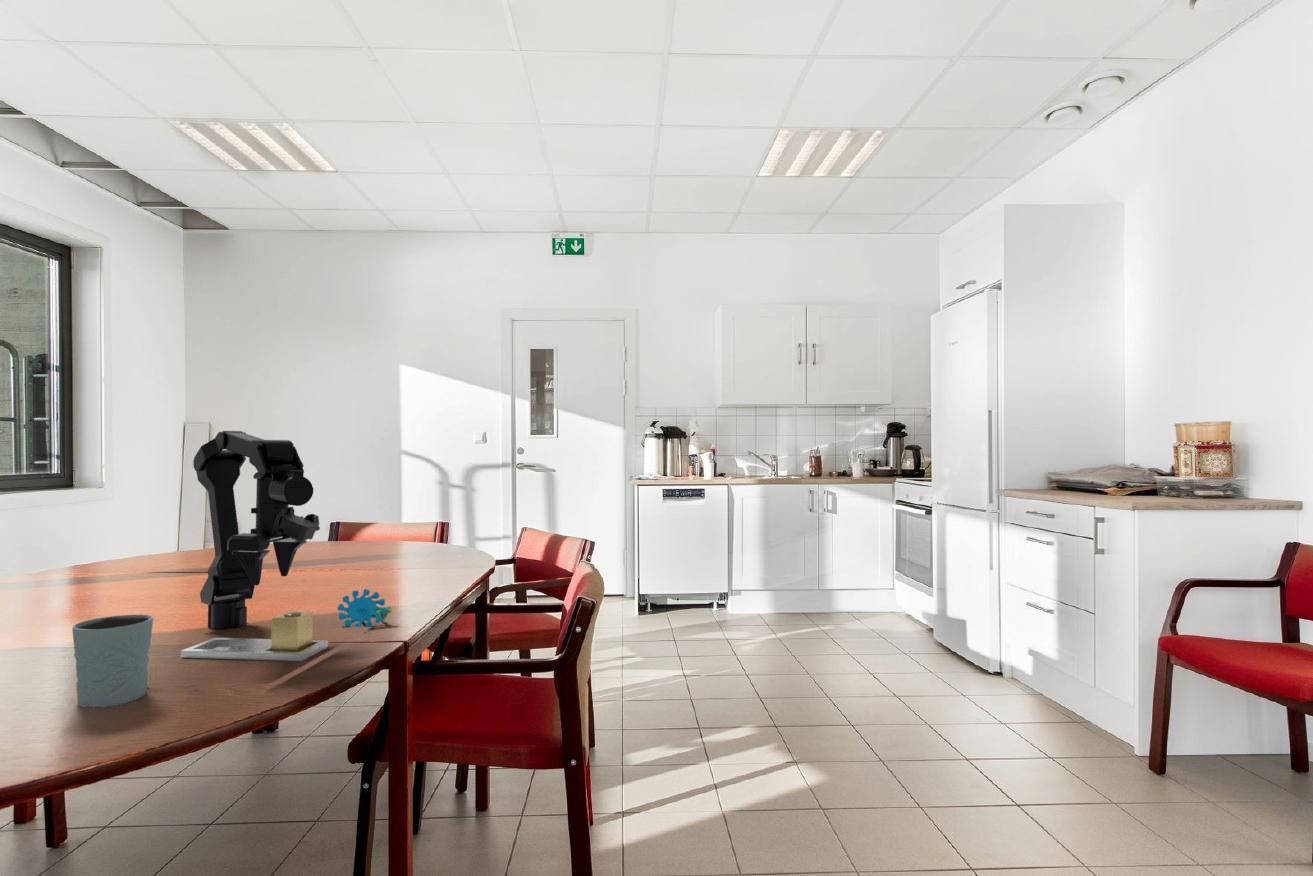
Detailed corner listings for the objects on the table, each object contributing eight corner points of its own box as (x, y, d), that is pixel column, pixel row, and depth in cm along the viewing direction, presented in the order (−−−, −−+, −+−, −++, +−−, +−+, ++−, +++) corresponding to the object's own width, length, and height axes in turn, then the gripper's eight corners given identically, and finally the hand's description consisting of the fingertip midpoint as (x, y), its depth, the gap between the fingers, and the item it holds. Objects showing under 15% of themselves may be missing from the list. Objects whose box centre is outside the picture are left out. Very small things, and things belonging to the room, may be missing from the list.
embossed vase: (86, 714, 104) (88, 632, 104) (59, 701, 110) (60, 623, 110) (163, 694, 113) (165, 619, 113) (134, 683, 118) (136, 610, 118)
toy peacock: (332, 624, 151) (343, 585, 158) (332, 639, 155) (343, 600, 162) (386, 629, 154) (395, 590, 161) (385, 643, 158) (394, 604, 165)
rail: (180, 661, 130) (180, 650, 130) (214, 647, 139) (214, 637, 139) (301, 665, 128) (302, 654, 128) (328, 651, 137) (328, 640, 137)
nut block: (271, 655, 131) (271, 616, 131) (286, 648, 136) (287, 610, 136) (297, 656, 131) (297, 617, 131) (312, 648, 136) (312, 611, 136)
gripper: (283, 507, 132) (281, 591, 132) (335, 499, 151) (333, 573, 150) (226, 506, 133) (224, 589, 133) (285, 498, 151) (283, 571, 151)
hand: (270, 580), depth 142 cm, fingers open, 9 cm apart
